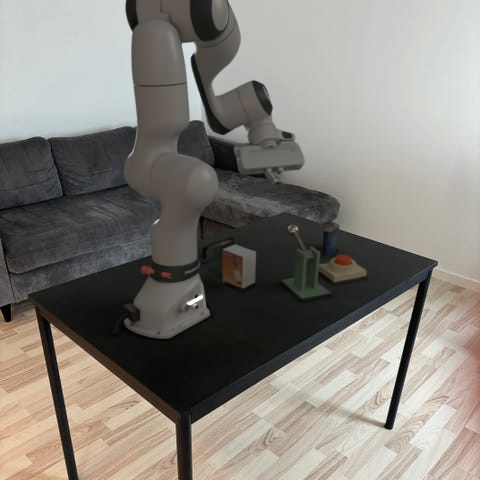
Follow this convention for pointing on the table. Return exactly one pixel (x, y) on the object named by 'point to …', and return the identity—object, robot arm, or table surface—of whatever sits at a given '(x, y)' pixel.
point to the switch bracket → (303, 283)
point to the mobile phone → (216, 247)
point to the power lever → (300, 242)
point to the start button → (343, 260)
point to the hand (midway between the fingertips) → (278, 183)
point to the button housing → (342, 270)
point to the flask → (330, 239)
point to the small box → (238, 266)
